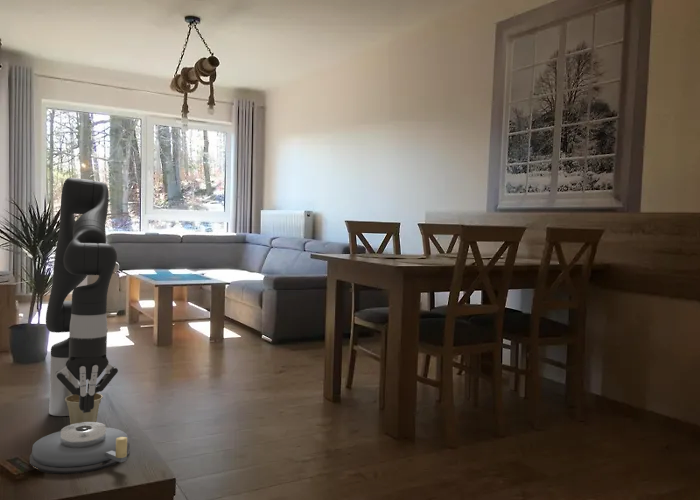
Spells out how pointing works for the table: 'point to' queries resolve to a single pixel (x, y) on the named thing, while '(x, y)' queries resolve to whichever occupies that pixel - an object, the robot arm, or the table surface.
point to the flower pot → (76, 413)
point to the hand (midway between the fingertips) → (86, 411)
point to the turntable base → (74, 469)
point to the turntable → (80, 450)
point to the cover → (83, 435)
